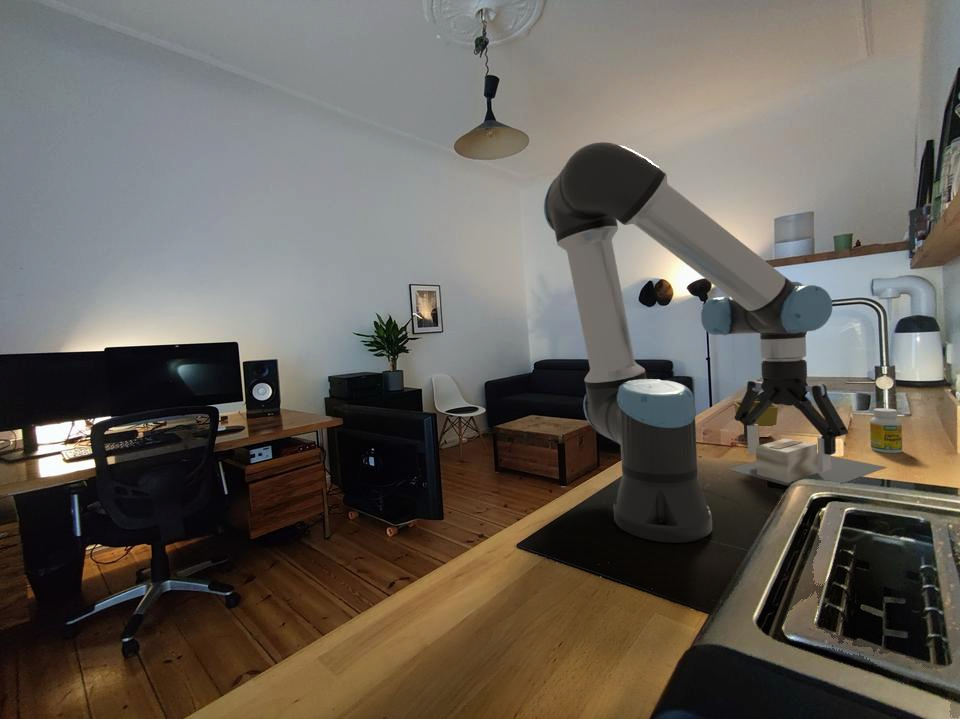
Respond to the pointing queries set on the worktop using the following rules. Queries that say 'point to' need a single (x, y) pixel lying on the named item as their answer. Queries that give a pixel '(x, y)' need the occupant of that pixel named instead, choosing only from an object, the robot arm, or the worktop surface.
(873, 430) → the supplement bottle
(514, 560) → the worktop surface
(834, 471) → the mat
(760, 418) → the flower pot
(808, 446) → the pale grey rectangular box
